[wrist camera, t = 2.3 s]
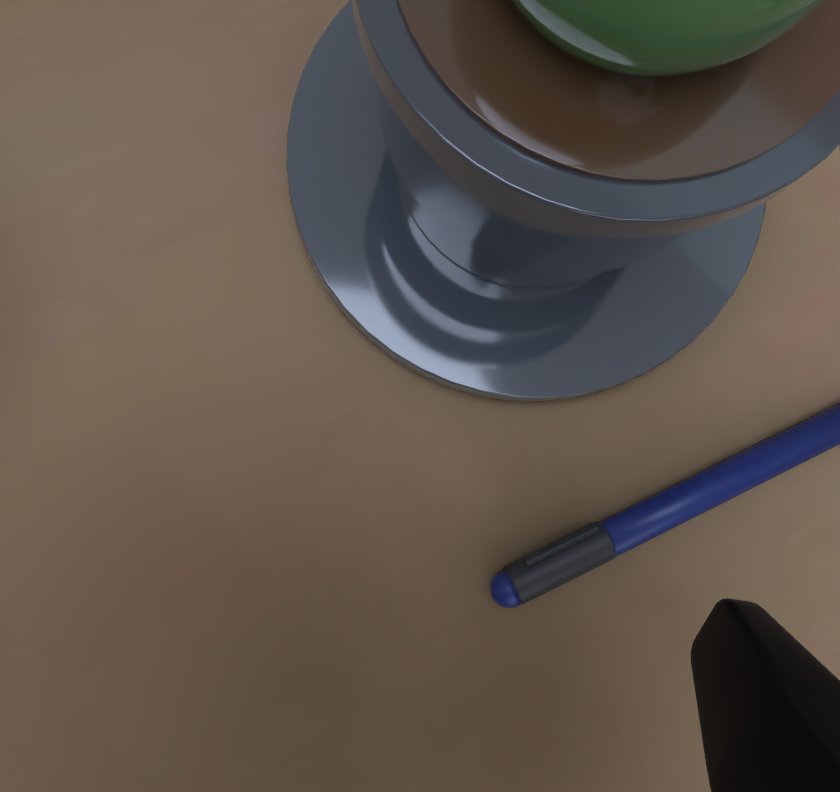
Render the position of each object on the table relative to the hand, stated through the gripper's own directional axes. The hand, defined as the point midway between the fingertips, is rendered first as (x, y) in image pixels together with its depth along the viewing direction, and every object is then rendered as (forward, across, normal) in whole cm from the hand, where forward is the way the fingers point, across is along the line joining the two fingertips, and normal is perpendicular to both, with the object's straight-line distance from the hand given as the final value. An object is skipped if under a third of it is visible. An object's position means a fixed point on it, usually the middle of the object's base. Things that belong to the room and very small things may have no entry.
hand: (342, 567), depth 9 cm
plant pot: (+18, -4, 0) cm, 19 cm away
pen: (+11, -11, +7) cm, 17 cm away
